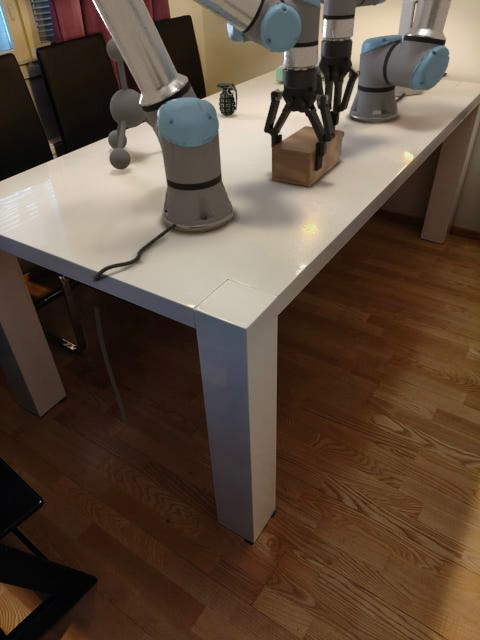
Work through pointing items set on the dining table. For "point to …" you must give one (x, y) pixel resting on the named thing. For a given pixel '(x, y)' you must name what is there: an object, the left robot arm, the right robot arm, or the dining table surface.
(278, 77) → the decorative block
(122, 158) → the molecular model
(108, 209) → the dining table surface
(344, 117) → the dining table surface
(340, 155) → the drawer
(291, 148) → the brown wooden box
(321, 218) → the dining table surface
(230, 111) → the grenade
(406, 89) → the electronic device
